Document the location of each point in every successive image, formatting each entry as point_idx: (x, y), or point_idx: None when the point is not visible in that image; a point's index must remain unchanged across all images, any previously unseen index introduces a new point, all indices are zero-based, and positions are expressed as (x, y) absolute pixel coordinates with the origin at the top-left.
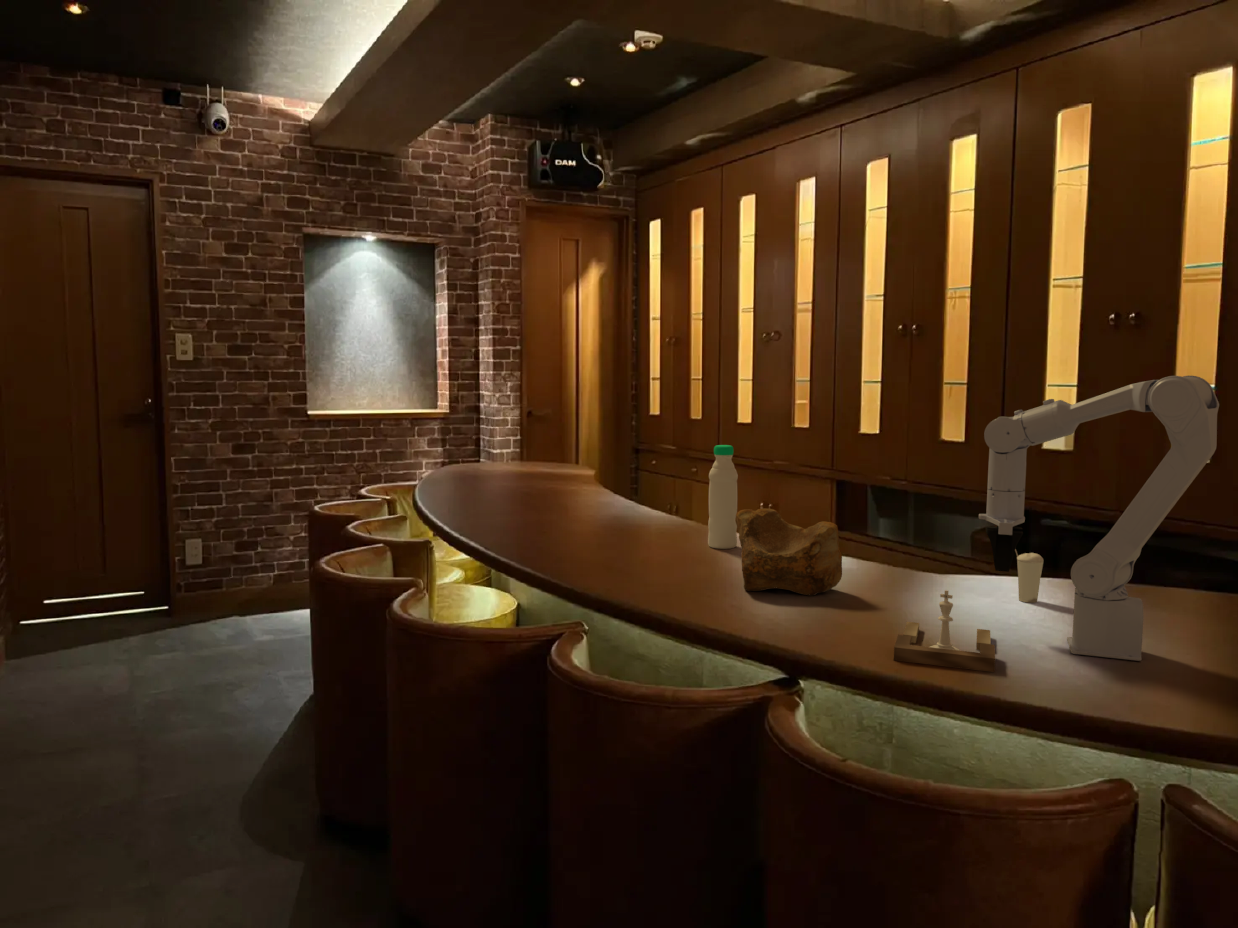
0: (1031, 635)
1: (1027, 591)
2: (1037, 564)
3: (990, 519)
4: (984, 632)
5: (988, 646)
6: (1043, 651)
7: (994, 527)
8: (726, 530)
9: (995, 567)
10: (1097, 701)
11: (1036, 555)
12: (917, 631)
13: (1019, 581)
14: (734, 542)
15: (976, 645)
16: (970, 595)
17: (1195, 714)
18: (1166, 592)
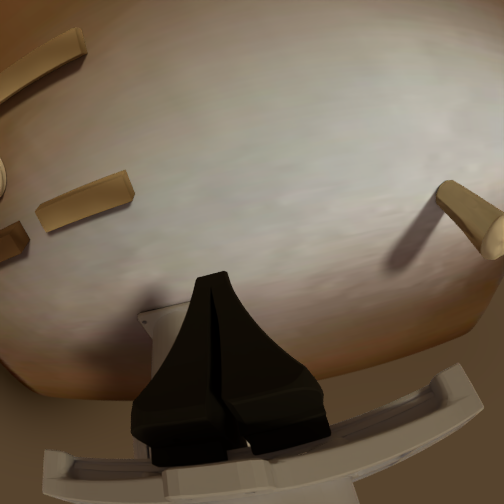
0: (208, 247)
1: (447, 204)
2: (478, 250)
3: (121, 494)
4: (105, 198)
5: (7, 248)
6: (122, 283)
7: (290, 411)
8: None
9: (195, 285)
10: (14, 345)
11: (495, 256)
12: (28, 83)
13: (467, 198)
14: None
15: (62, 194)
16: (456, 96)
17: (60, 388)
18: (481, 302)
